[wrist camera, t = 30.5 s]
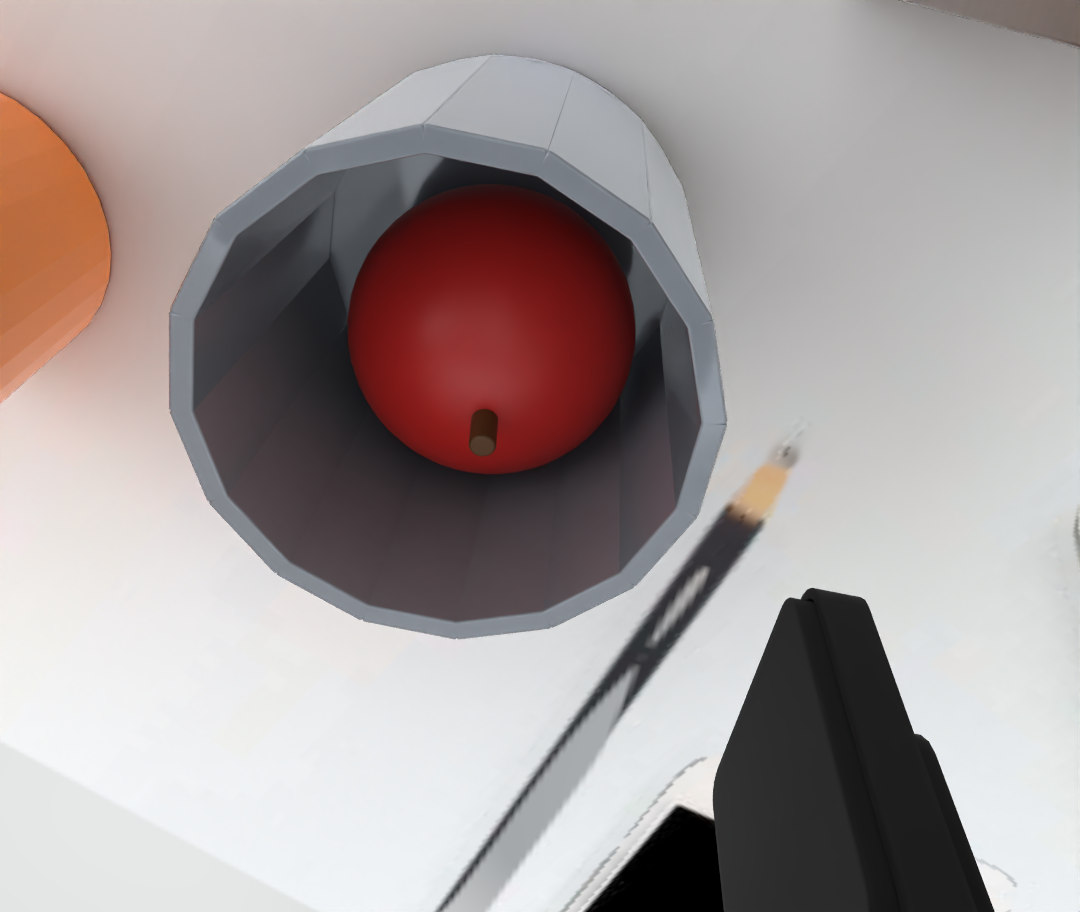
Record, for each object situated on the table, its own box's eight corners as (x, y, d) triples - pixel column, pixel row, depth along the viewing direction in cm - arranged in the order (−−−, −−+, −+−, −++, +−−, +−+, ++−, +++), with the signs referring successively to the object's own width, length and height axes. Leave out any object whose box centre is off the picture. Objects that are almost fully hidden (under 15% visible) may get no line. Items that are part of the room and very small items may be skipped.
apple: (379, 113, 21) (320, 276, 15) (655, 162, 21) (688, 335, 16) (362, 347, 24) (310, 540, 19) (597, 383, 25) (607, 579, 20)
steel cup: (338, 16, 21) (167, 70, 13) (734, 99, 21) (798, 202, 13) (309, 379, 25) (168, 584, 17) (640, 446, 26) (647, 678, 18)
